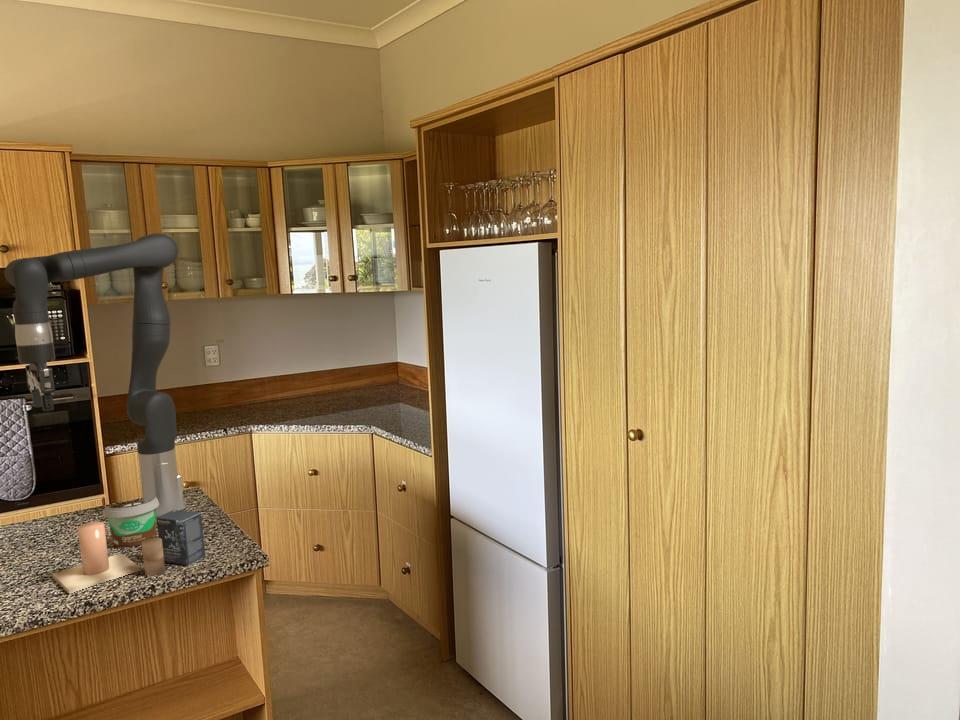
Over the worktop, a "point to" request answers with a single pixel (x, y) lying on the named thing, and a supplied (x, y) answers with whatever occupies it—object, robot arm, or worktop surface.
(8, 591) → the worktop surface
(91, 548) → the salmon orange cylinder
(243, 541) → the worktop surface
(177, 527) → the box
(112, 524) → the food container
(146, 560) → the walnut cylinder
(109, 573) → the birch board
